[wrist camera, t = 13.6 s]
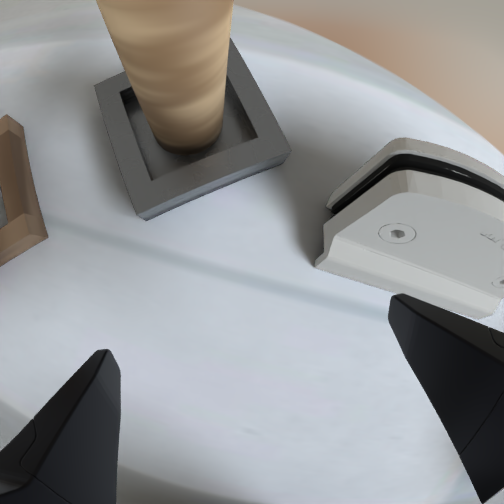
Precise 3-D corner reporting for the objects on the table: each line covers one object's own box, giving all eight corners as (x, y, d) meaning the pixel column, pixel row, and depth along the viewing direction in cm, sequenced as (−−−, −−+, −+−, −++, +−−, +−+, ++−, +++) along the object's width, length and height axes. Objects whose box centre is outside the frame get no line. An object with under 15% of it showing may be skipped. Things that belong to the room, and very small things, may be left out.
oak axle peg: (147, 154, 18) (72, 19, 6) (158, 92, 18) (117, -58, 6) (219, 157, 19) (230, 9, 6) (225, 95, 19) (242, -63, 6)
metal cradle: (146, 221, 19) (136, 215, 16) (105, 102, 19) (94, 85, 16) (282, 163, 20) (291, 150, 17) (227, 55, 20) (228, 35, 17)
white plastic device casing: (308, 266, 20) (402, 179, 11) (319, 203, 22) (395, 103, 13) (480, 320, 21) (574, 285, 12) (479, 269, 23) (563, 224, 14)
